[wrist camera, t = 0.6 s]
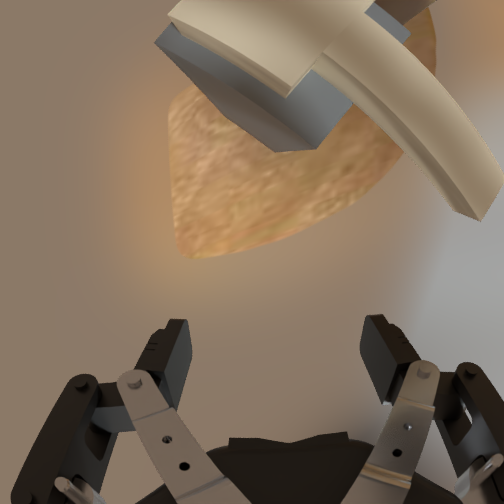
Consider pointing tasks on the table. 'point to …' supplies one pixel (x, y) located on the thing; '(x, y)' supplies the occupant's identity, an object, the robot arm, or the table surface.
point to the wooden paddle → (353, 80)
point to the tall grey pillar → (268, 92)
